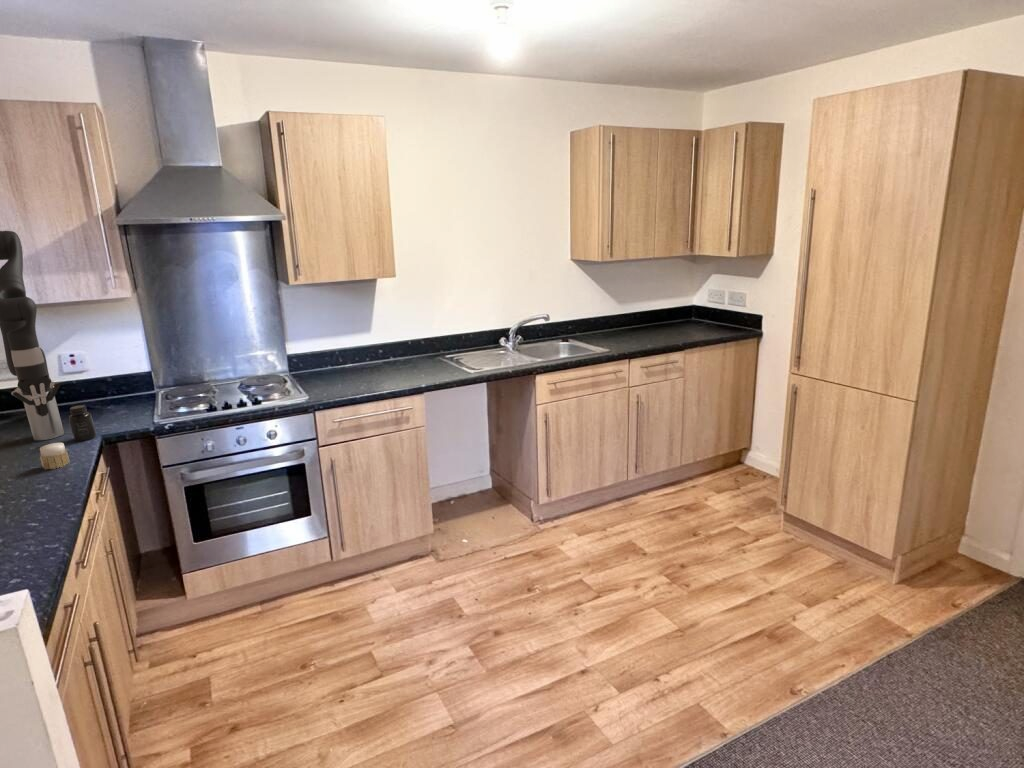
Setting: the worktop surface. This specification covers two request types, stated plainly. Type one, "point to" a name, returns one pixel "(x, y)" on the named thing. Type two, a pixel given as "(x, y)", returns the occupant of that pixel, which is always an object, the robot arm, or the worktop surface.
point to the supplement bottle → (81, 423)
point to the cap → (52, 450)
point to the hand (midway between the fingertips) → (43, 415)
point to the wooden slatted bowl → (55, 461)
